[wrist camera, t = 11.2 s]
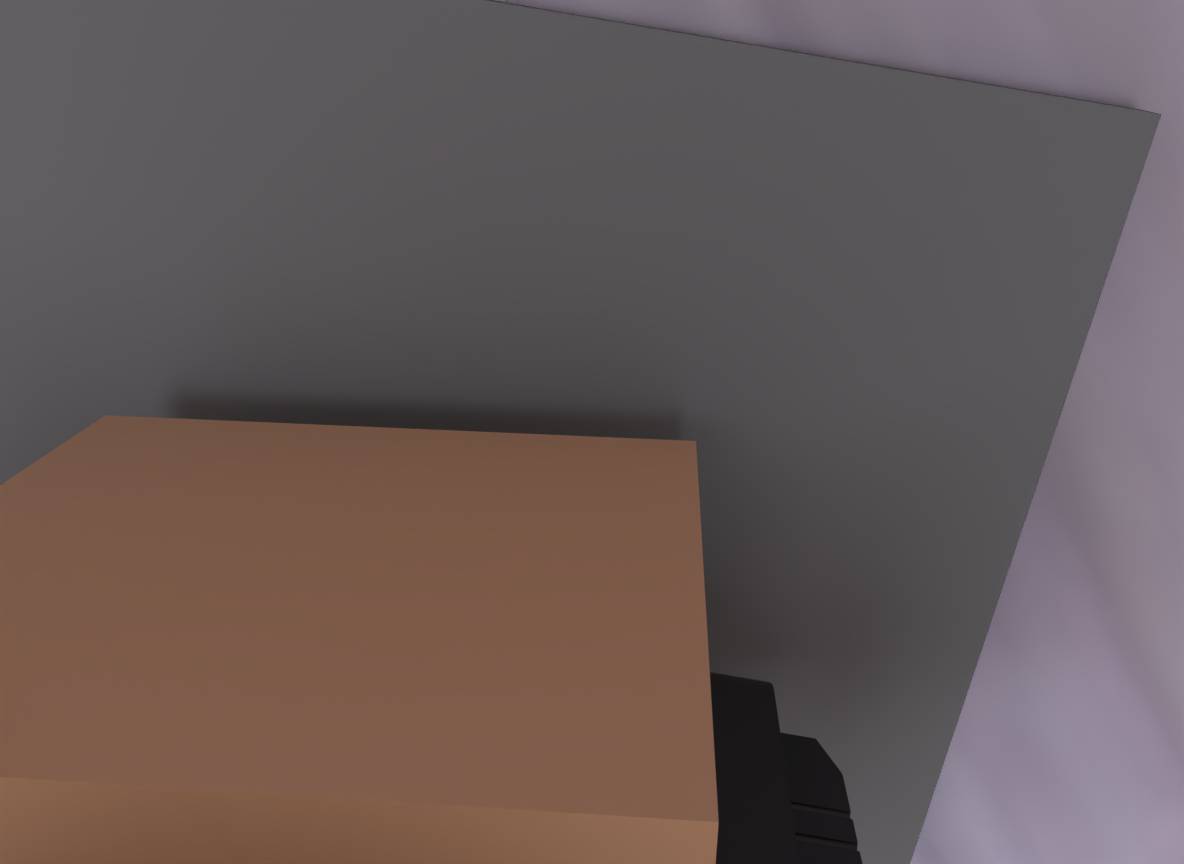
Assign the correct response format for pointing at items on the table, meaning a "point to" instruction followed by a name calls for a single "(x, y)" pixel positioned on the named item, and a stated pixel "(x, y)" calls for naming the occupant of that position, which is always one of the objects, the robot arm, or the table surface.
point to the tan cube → (354, 648)
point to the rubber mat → (589, 292)
